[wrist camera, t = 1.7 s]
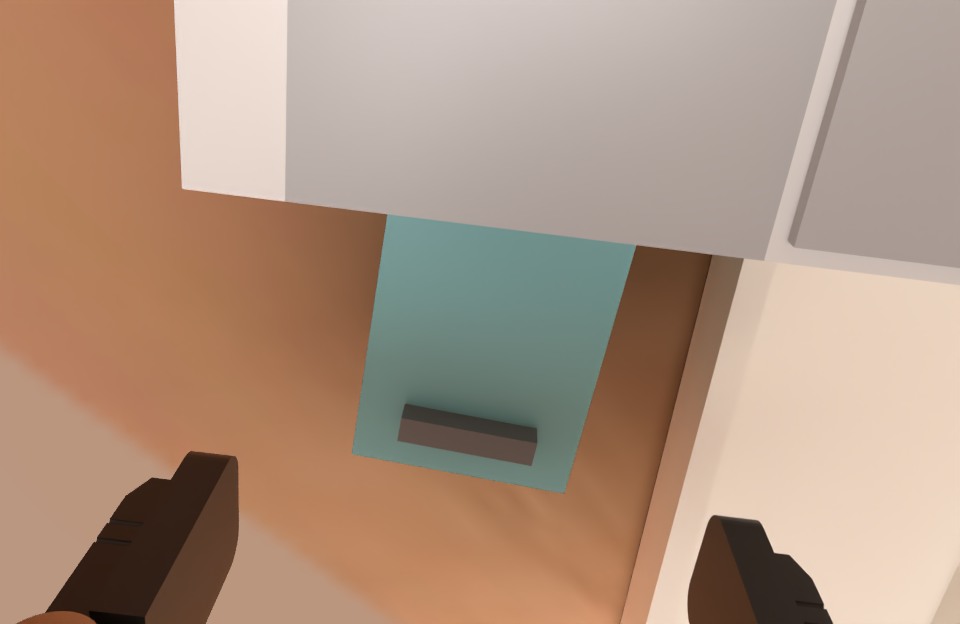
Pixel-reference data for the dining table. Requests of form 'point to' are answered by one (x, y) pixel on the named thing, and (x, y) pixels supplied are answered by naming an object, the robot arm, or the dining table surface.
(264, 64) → the box
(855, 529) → the tray
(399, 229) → the teal box
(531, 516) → the dining table surface
